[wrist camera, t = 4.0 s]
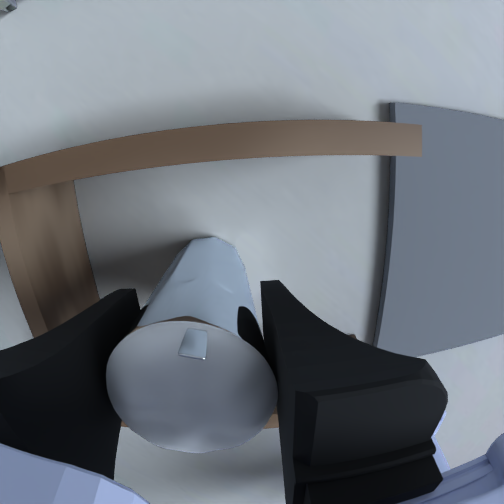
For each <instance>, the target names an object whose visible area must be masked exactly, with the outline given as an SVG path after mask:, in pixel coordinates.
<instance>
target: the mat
mask: <svg viewBox="0 0 504 504" xmlns="http://www.w3.org/2000/svg"><path fill="white" fill-rule="evenodd" d="M389 108H390V122H394V123H407V124H418V125H422V157H414V156H390V195H389V215H388V230H387V243H386V254H385V264H384V273H383V282H382V290H381V297H380V305H379V312H378V318H377V325H376V331H375V337H374V342H373V346H374V347H377V348H380V349H384V350H387V351H390V352H393V353H397V354H402V355H406V356H411V357H417V356H422V355H426V354H431V353H435V352H439V351H444V350H448V349H452V348H456V347H460V346H463V345H467V344H471V343H474V342H478V341H482V340H485V339H488V338H492V337H495V336H498V335H502V334H504V120H501V119H496V118H492V117H487V116H483V115H478V114H472V113H467V112H462V111H456V110H450V109H443V108H437V107H430V106H422V105H414V104H405V103H389Z"/></svg>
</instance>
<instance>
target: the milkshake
mask: <svg viewBox="0 0 504 504" xmlns="http://www.w3.org/2000/svg"><path fill="white" fill-rule="evenodd" d="M106 384H107V391H108V395H109V398H110V401H111V403H112V405H113V407H114V409H115V411H116V413H117V414H118V415H119V417H120V418H121V419H122V421H123V422H124V423H125V424H126V425H127V426H128V427H129V428H130V429H131V430H133V431H134V432H135V433H137V434H138V435H140V436H141V437H143V438H144V439H146V440H147V441H149V442H150V443H152V444H154V445H156V446H158V447H161V448H164V449H169V450H176V451H182V452H188V453H207V452H211V451H216V450H224V449H230V448H234V447H237V446H240V445H242V444H244V443H245V442H247V441H248V440H250V439H251V438H253V437H254V436H255V435H257V434H258V433H259V432H260V431H261V430H262V429H263V428H264V426H265V425H266V424H267V422H268V421H269V419H270V417H271V415H272V413H273V411H274V409H275V406H276V404H277V400H278V386H277V382H276V379H275V376H274V373H273V370H272V367H271V363H270V360H269V357H268V353H267V350H266V347H265V343H264V340H263V337H262V333H261V330H260V327H259V323H258V319H257V315H256V311H255V307H254V302H253V298H252V294H251V290H250V286H249V282H248V277H247V273H246V269H245V266H244V264H243V262H242V260H241V258H240V256H239V254H238V252H237V250H236V248H235V247H234V246H232V245H230V244H228V243H226V242H224V241H223V240H221V239H219V238H217V237H208V238H200V239H193V240H192V241H191V242H190V243H189V244H188V245H187V246H185V247H184V248H183V249H182V250H181V251H180V252H179V253H178V254H177V255H176V257H175V258H174V260H173V261H172V263H171V264H170V266H169V268H168V269H167V271H166V272H165V274H164V275H163V277H162V278H161V280H160V281H159V283H158V285H157V286H156V288H155V289H154V291H153V292H152V294H151V296H150V297H149V299H148V300H147V302H146V303H145V305H144V306H143V308H142V309H141V311H140V312H139V313H138V315H137V316H136V318H135V319H134V321H133V322H132V324H131V325H130V326H129V328H128V329H127V331H126V332H125V334H124V335H123V337H122V338H121V340H120V341H119V343H118V344H117V346H116V347H115V349H114V350H113V352H112V353H111V355H110V357H109V360H108V363H107V368H106Z"/></svg>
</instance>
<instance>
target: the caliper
mask: <svg viewBox="0 0 504 504" xmlns="http://www.w3.org/2000/svg"><path fill="white" fill-rule="evenodd" d="M16 8H17V6H16V0H0V10H3V11H6V12H8V11H12V10H14V9H16Z"/></svg>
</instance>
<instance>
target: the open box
mask: <svg viewBox="0 0 504 504" xmlns="http://www.w3.org/2000/svg"><path fill="white" fill-rule="evenodd" d="M309 155H386V156H414V157H422V125H418V124H407V123H394V122H378V121H355V120H281V121H258V122H242V123H228V124H217V125H206V126H197V127H188V128H179V129H172V130H164V131H157V132H150V133H144V134H138V135H132V136H126V137H120V138H115V139H109V140H104V141H99V142H94V143H90V144H85V145H80V146H76V147H71V148H67V149H63V150H59V151H55V152H51V153H47V154H43V155H39V156H36V157H32V158H28V159H25V160H21V161H18V162H15V163H11V164H8V165H5V166H2V167H0V242H1V245H2V249H3V253H4V256H5V260H6V263H7V266H8V270H9V273H10V276H11V279H12V282H13V285H14V288H15V291H16V294H17V297H18V299H19V302H20V305H21V307H22V310H23V313H24V315H25V318H26V320H27V323H28V325H29V328H30V330H31V332H32V335H33V337H34V338H35V337H38V336H40V335H42V334H44V333H46V332H48V331H50V330H52V329H54V328H56V327H57V326H59V325H61V324H63V323H64V322H66V321H68V320H69V319H71V318H72V317H74V316H76V315H77V314H79V313H81V312H82V311H84V310H85V309H87V308H88V307H90V306H92V305H93V304H95V303H96V302H98V301H99V300H100V298H99V295H98V291H97V288H96V284H95V281H94V277H93V273H92V269H91V265H90V261H89V257H88V253H87V249H86V244H85V240H84V235H83V231H82V226H81V221H80V216H79V210H78V205H77V199H76V194H75V188H74V181H73V180H76V179H82V178H87V177H93V176H99V175H105V174H111V173H118V172H124V171H131V170H138V169H145V168H153V167H161V166H169V165H178V164H187V163H197V162H208V161H219V160H231V159H245V158H261V157H281V156H309ZM348 336H351V337H353V338H355V339H357V338H356V336H355V335H348ZM121 426H122V427H128V426H127V425H126V424H125V423H124V422H123V421H122V423H121ZM278 427H279V423H278V414H277V408H276V406H275V409H274V411H273V413H272V415H271V417H270V419H269V421H268V422H267V424H266V425H265V426H264V428H263V429H266V428H278Z"/></svg>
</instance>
